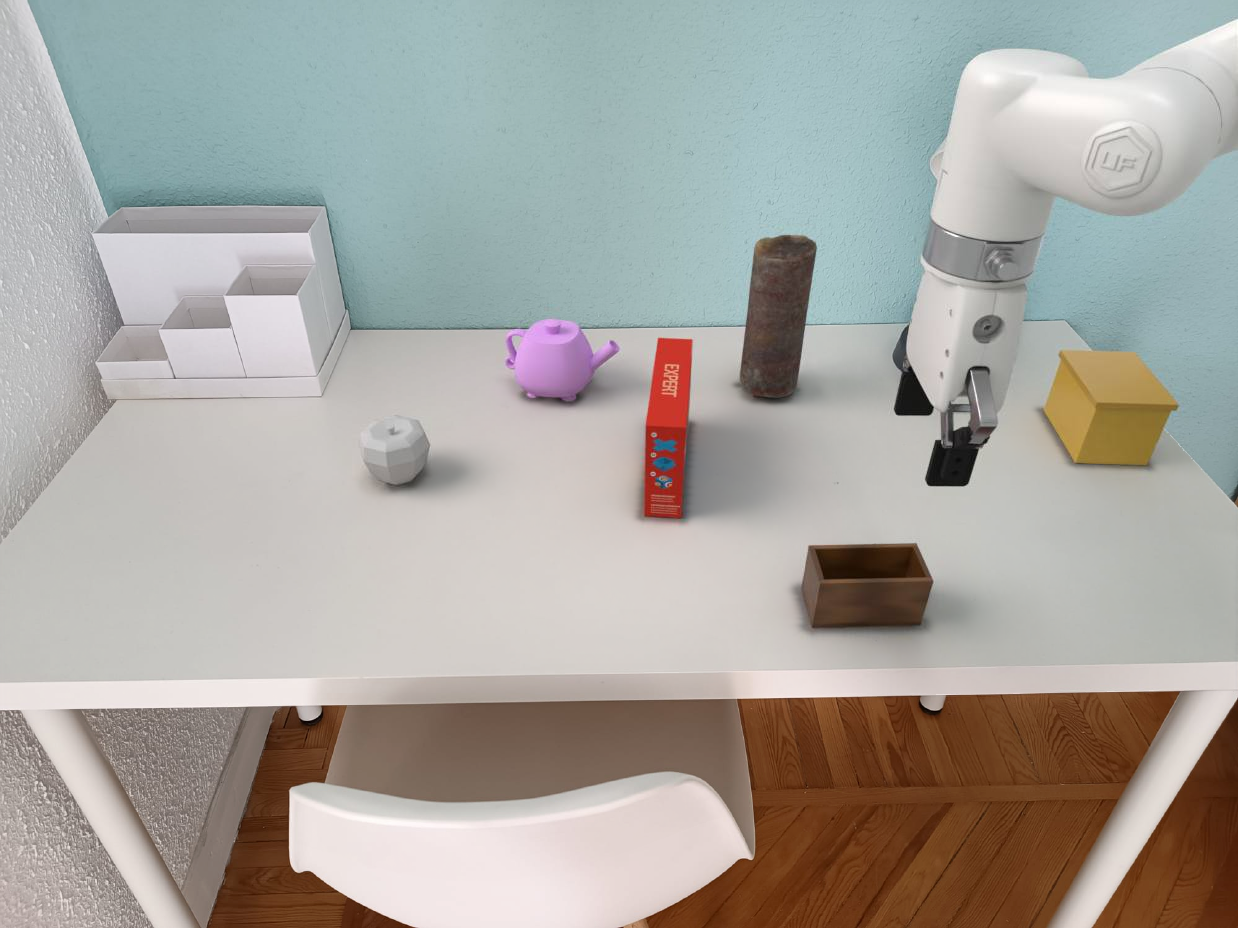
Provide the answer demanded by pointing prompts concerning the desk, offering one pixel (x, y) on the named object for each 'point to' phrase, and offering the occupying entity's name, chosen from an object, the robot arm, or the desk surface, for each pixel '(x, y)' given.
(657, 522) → the desk surface
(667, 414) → the toy box
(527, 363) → the teapot
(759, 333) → the candle
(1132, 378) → the box
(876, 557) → the wooden cubby shelf
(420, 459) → the apple
